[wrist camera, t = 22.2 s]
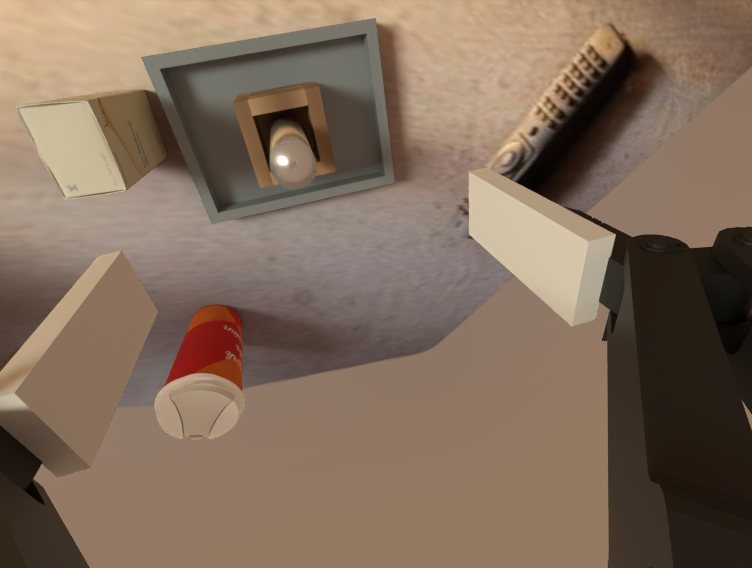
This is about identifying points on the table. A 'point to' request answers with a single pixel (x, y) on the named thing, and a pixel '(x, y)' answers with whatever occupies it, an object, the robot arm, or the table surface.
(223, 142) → the tray
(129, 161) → the skincare box
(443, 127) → the table surface
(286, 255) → the table surface
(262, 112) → the bored block
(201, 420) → the coffee cup
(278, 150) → the pin
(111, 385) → the robot arm
